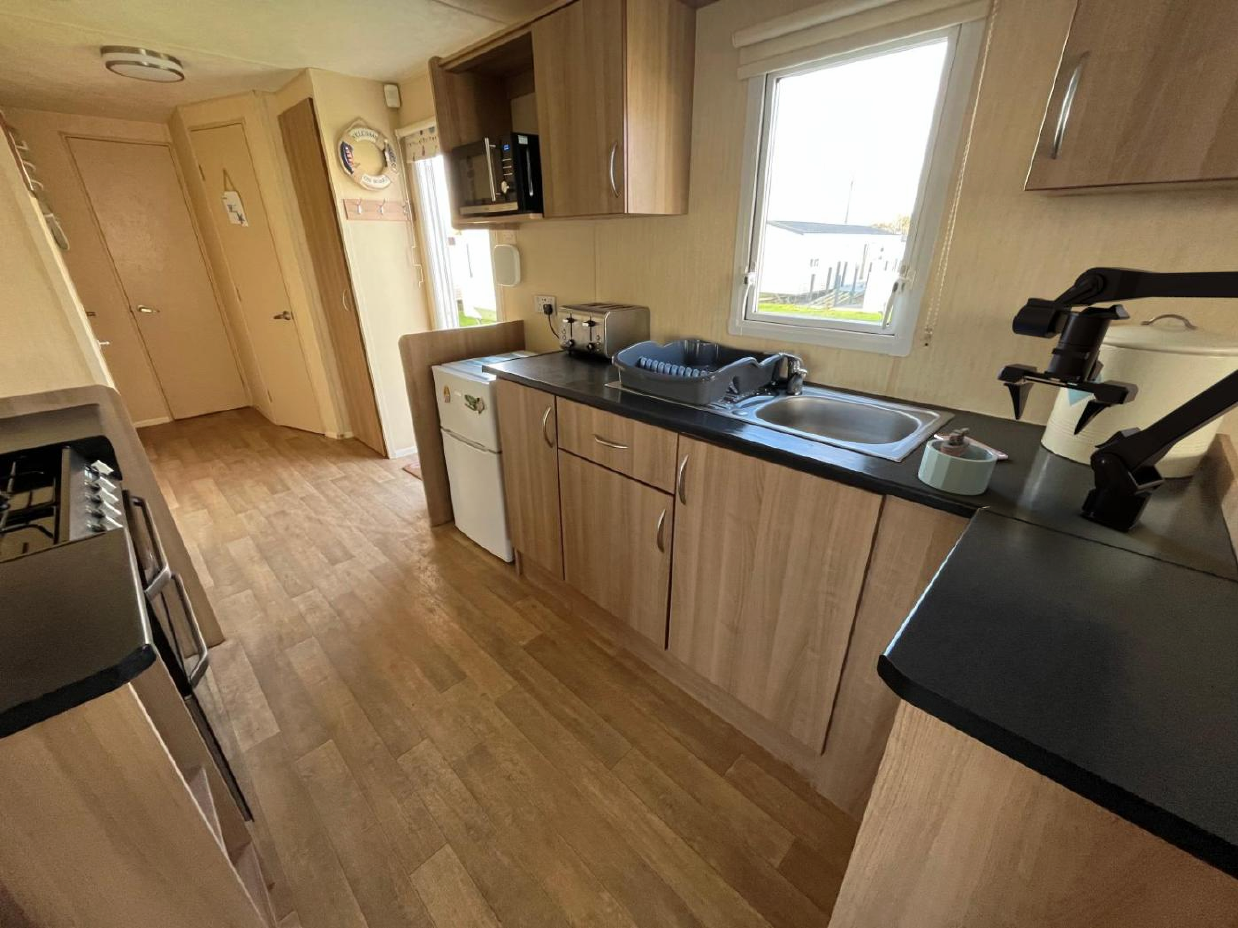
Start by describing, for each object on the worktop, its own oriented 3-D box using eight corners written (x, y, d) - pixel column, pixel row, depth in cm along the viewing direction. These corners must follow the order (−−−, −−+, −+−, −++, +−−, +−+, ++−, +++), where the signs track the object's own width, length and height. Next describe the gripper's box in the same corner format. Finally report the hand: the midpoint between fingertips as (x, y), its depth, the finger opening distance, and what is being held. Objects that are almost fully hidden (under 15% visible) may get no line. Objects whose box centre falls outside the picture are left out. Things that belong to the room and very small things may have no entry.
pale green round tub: (996, 486, 96) (1009, 454, 93) (966, 500, 91) (978, 466, 88) (937, 465, 105) (946, 435, 102) (906, 476, 100) (915, 445, 97)
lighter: (944, 484, 96) (960, 437, 91) (926, 478, 98) (941, 431, 94) (963, 475, 100) (979, 429, 96) (945, 469, 102) (960, 424, 98)
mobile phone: (959, 432, 122) (1011, 455, 108) (958, 435, 122) (1009, 459, 109) (932, 433, 121) (980, 456, 107) (931, 436, 121) (979, 460, 108)
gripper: (1168, 349, 82) (1126, 435, 88) (1037, 332, 97) (1010, 407, 103) (1144, 354, 77) (1102, 446, 83) (1010, 336, 91) (983, 415, 98)
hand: (1045, 426), depth 92 cm, fingers open, 9 cm apart
